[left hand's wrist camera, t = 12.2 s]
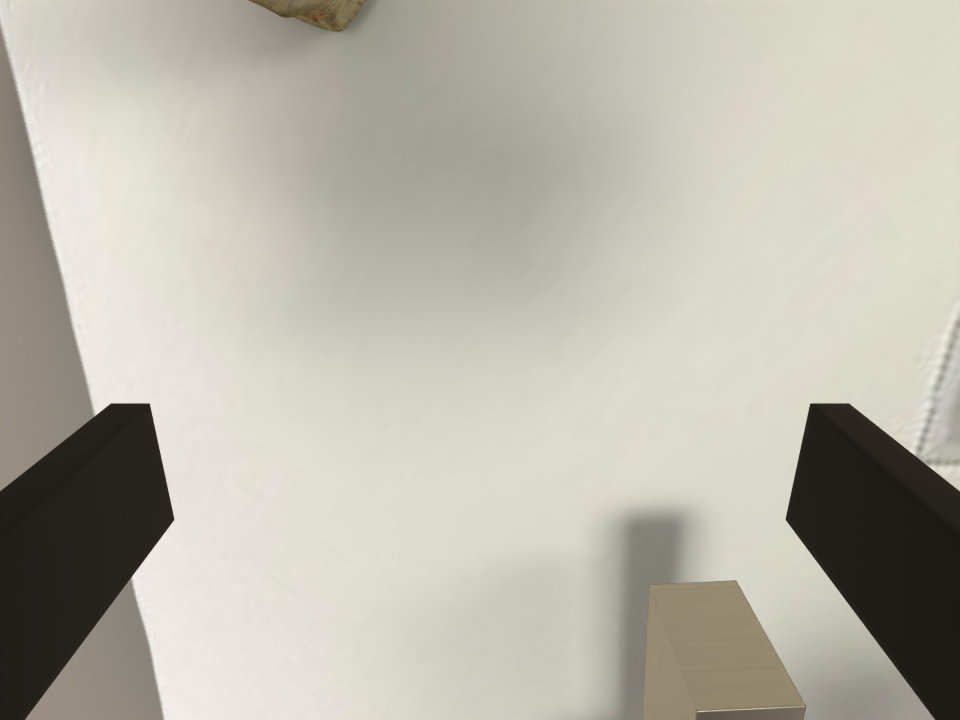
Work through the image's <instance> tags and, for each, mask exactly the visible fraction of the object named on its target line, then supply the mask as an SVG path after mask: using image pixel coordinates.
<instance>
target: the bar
mask: <svg viewBox="0 0 960 720" xmlns="http://www.w3.org/2000/svg"><path fill="white" fill-rule="evenodd" d="M805 708H806V705H805V703H804V702H803V700H802V698H801V696H800V694H799V693H798V691H797V689H796V687H795V685H794V684H793V682H792V680H791V678H790V676H789V675H788V673H787V671H786V669H785V667H784V666H783V664H782V662H781V660H780V658H779V657H778V655H777V653H776V651H775V649H774V648H773V646H772V644H771V642H770V640H769V639H768V637H767V635H766V633H765V631H764V630H763V628H762V626H761V624H760V622H759V621H758V619H757V617H756V615H755V613H754V612H753V610H752V608H751V606H750V604H749V603H748V601H747V599H746V597H745V595H744V594H743V592H742V590H741V588H740V586H739V585H738V583H737V581H736V580H733V581H713V582H694V583H674V584H655V585H650V589H649V606H648V624H647V642H646V660H645V677H644V695H643V713H642V720H803V719H804V714H805Z"/></svg>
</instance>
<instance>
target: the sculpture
mask: <svg viewBox="0 0 960 720" xmlns="http://www.w3.org/2000/svg"><path fill="white" fill-rule="evenodd" d="M249 1H251V2H254V3H256V4H258V5H260V6H262V7H265V8H267V9H269V10H270V11H272V12H274V13H276V14H278V15H279V16H281V17H285V18H287V17H296V18H298V19H300V20H302V21H304V22H306V23H309V24H311V25H314V26H316V27H319V28H322V29H326V30H330V31H335V32H341V31H343V30H344V29H345V28H346V27H347V26H348V25H349V24H350V22H351V21H352V20H353V18H354V17H355V15H356V14H357V12H358V11H359V9H360V8H361V6H362V5H363V3H364V2H365V0H249Z"/></svg>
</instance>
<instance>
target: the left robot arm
mask: <svg viewBox="0 0 960 720" xmlns="http://www.w3.org/2000/svg"><path fill="white" fill-rule="evenodd" d="M173 521H174V515H173V511H172V506H171V501H170V497H169V492H168V487H167V483H166V478H165V473H164V468H163V464H162V459H161V454H160V450H159V445H158V440H157V436H156V431H155V426H154V422H153V417H152V412H151V407H150V404H110V405H109V406H107V407H106V408H105V409H104V410H102V411H101V412H100V413H99V414H97V415H96V416H95V417H94V418H92V419H91V420H90V421H88V422H87V423H86V424H85V425H83V426H82V427H81V428H80V429H78V430H77V431H76V432H75V433H73V434H72V435H71V436H70V437H68V438H67V439H66V440H65V441H63V442H62V443H61V444H59V445H58V446H57V447H56V448H54V449H53V450H52V451H51V452H49V453H48V454H47V455H46V456H44V457H43V458H42V459H41V460H39V461H38V462H37V463H36V464H34V465H33V466H32V467H30V468H29V469H28V470H27V471H25V472H24V473H23V474H22V475H20V476H19V477H18V478H17V479H15V480H14V481H13V482H12V483H10V484H9V485H8V486H6V487H5V488H4V489H3V490H1V491H0V720H25V719H26V717H27V716H28V715H29V713H30V712H31V711H32V709H33V708H34V707H35V705H36V704H37V703H38V701H39V700H40V699H41V697H42V696H43V695H44V693H45V692H46V691H47V689H48V688H49V687H50V685H51V684H52V683H53V681H54V680H55V679H56V677H57V676H58V675H59V673H60V672H61V671H62V669H63V668H64V667H65V665H66V664H67V663H68V661H69V660H70V659H71V657H72V656H73V655H74V653H75V652H76V651H77V649H78V648H79V647H80V645H81V644H82V643H83V641H84V640H85V639H86V637H87V636H88V634H89V633H90V632H91V631H92V629H93V628H94V627H95V625H96V624H97V622H98V621H99V620H100V618H101V617H102V616H103V614H104V613H105V612H106V610H107V609H108V608H109V606H110V605H111V604H112V602H113V601H114V600H115V598H116V597H117V596H118V594H119V593H120V592H121V590H122V589H123V588H124V586H125V585H126V584H127V582H128V581H129V580H130V578H131V577H132V576H133V574H134V573H135V572H136V570H137V569H138V568H139V566H140V565H141V564H142V562H143V561H144V560H145V558H146V557H147V556H148V554H149V553H150V552H151V550H152V549H153V548H154V546H155V545H156V544H157V542H158V541H159V540H160V538H161V537H162V536H163V534H164V533H165V532H166V530H167V529H168V528H169V526H170V525H171V524H172V522H173ZM786 521H787V522H788V524H789V525H790V526H791V528H792V529H793V530H794V532H795V533H796V534H797V536H798V537H799V538H800V540H801V541H802V542H803V544H804V545H805V546H806V548H807V549H808V550H809V552H810V553H811V554H812V556H813V557H814V558H815V560H816V561H817V562H818V564H819V565H820V566H821V568H822V569H823V570H824V572H825V573H826V574H827V576H828V577H829V578H830V580H831V581H832V582H833V584H834V585H835V586H836V588H837V589H838V590H839V592H840V593H841V594H842V596H843V597H844V598H845V600H846V601H847V602H848V604H849V605H850V606H851V608H852V609H853V610H854V612H855V613H856V614H857V616H858V617H859V618H860V620H861V621H862V622H863V624H864V625H865V627H866V628H867V629H868V631H869V632H870V633H871V635H872V636H873V637H874V639H875V640H876V641H877V643H878V644H879V645H880V647H881V648H882V649H883V651H884V652H885V653H886V655H887V656H888V657H889V659H890V660H891V661H892V663H893V664H894V665H895V667H896V668H897V669H898V671H899V672H900V673H901V675H902V676H903V677H904V679H905V680H906V681H907V683H908V684H909V685H910V687H911V688H912V689H913V691H914V692H915V693H916V695H917V696H918V697H919V699H920V700H921V701H922V703H923V704H924V705H925V707H926V708H927V709H928V711H929V712H930V713H931V715H932V716H933V717H934V719H935V720H960V491H959V490H957V489H956V488H955V487H954V486H952V485H951V484H950V483H948V482H947V481H946V480H945V479H943V478H942V477H941V476H940V475H938V474H937V473H936V472H935V471H933V470H932V469H931V468H930V467H928V466H927V465H926V464H925V463H923V462H922V461H921V460H919V459H918V458H917V457H916V456H914V455H913V454H912V453H911V452H909V451H908V450H907V449H906V448H904V447H903V446H902V445H901V444H899V443H898V442H897V441H896V440H894V439H893V438H892V437H890V436H889V435H888V434H887V433H885V432H884V431H883V430H882V429H880V428H879V427H878V426H877V425H875V424H874V423H873V422H872V421H870V420H869V419H868V418H866V417H865V416H864V415H863V414H861V413H860V412H859V411H858V410H856V409H855V408H854V407H853V406H851V405H850V404H810V407H809V412H808V417H807V421H806V426H805V431H804V436H803V440H802V445H801V450H800V454H799V459H798V464H797V468H796V473H795V478H794V483H793V487H792V492H791V497H790V501H789V506H788V511H787V515H786Z"/></svg>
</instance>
